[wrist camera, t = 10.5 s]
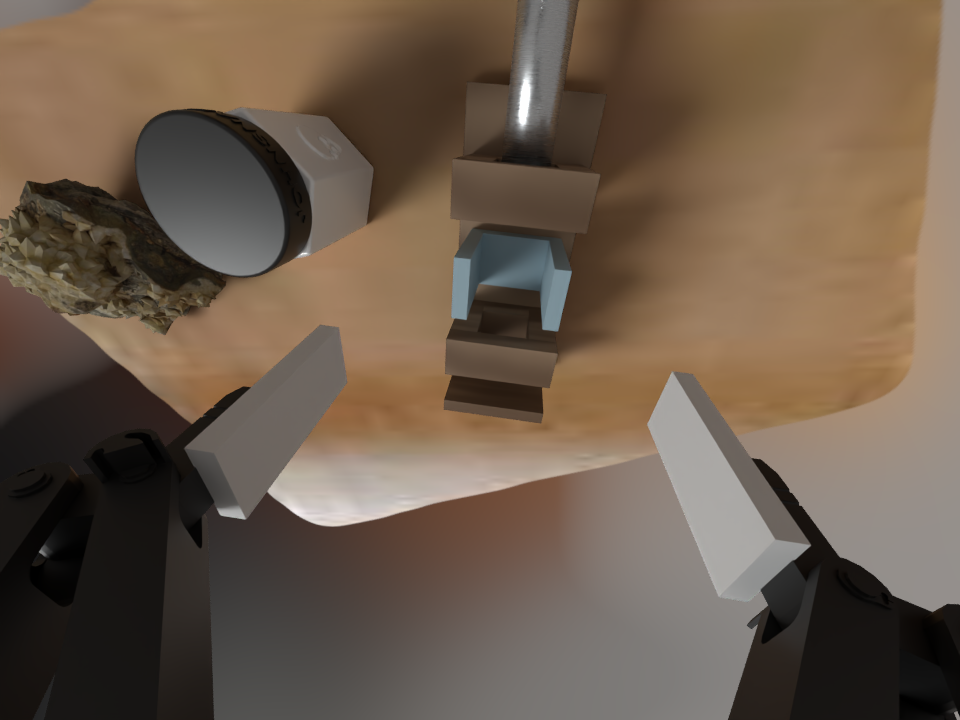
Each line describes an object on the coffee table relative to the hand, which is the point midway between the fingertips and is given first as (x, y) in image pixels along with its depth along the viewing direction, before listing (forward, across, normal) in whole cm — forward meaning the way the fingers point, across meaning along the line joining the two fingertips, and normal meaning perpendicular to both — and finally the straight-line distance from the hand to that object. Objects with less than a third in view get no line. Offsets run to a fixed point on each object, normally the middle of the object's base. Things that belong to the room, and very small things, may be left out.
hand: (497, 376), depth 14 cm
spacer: (+17, 0, 0) cm, 17 cm away
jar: (+19, -16, +4) cm, 25 cm away
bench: (+18, 0, 0) cm, 18 cm away
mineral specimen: (+19, -35, -5) cm, 40 cm away
